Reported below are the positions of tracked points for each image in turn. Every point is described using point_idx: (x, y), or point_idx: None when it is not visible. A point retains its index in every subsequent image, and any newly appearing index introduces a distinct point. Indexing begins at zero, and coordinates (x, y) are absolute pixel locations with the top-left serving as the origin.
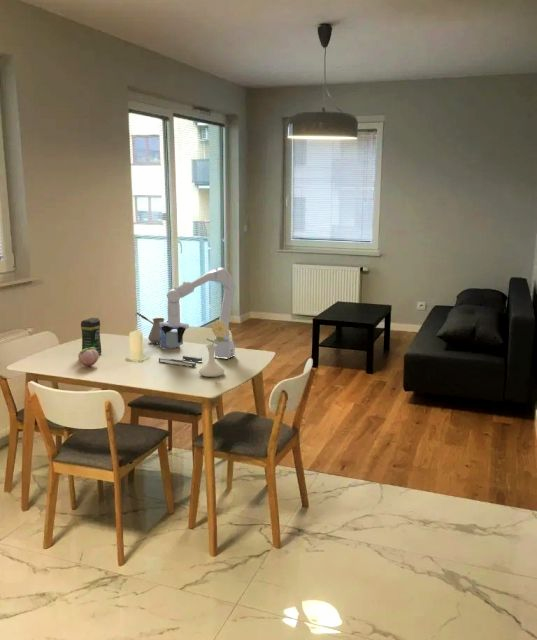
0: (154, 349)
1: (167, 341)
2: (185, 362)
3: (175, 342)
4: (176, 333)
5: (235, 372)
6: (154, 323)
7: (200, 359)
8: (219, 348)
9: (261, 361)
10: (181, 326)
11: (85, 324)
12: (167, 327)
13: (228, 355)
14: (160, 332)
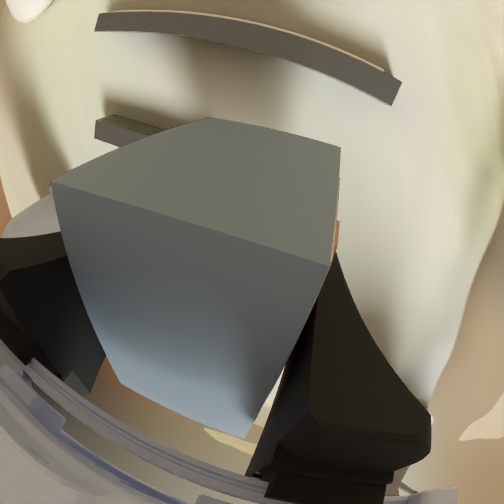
0: (422, 361)
1: (316, 160)
2: (148, 11)
3: (176, 129)
4: (65, 217)
5: (11, 49)
6: (396, 485)
7: (100, 120)
8: (42, 225)
9: (6, 187)
10: (1, 357)
11: None
12: (287, 475)
13: (40, 199)
14: None
